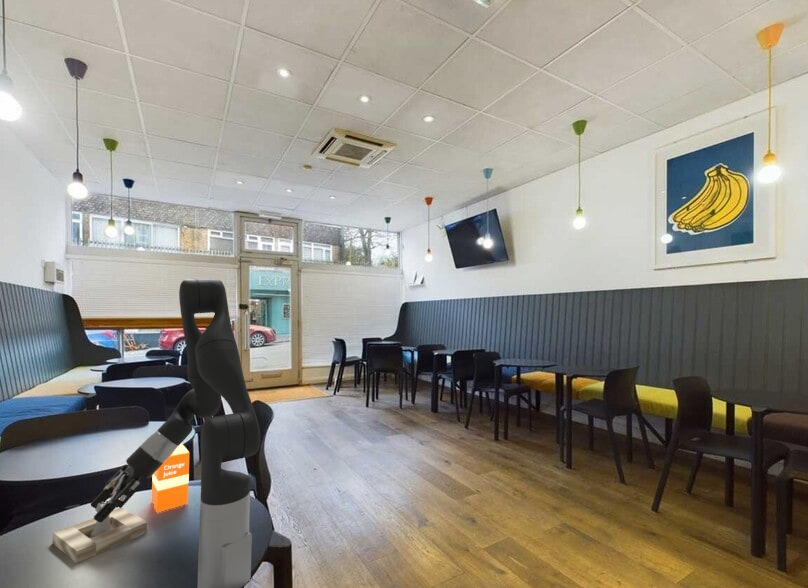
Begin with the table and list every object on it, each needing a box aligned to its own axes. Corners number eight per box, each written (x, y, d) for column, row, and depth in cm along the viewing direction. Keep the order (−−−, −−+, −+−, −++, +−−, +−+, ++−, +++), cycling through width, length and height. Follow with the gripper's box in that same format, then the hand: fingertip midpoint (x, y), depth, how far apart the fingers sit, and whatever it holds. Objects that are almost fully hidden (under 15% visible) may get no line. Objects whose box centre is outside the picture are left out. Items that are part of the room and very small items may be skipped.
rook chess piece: (100, 543, 90) (102, 508, 90) (85, 541, 91) (87, 506, 91) (118, 533, 94) (119, 500, 95) (103, 531, 95) (105, 498, 96)
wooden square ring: (146, 532, 95) (147, 522, 95) (76, 563, 83) (76, 551, 83) (120, 517, 102) (121, 507, 102) (52, 543, 90) (53, 532, 90)
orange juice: (156, 513, 104) (159, 439, 105) (150, 502, 110) (153, 431, 112) (188, 504, 109) (191, 433, 110) (181, 493, 116) (183, 426, 117)
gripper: (136, 439, 104) (79, 495, 95) (147, 452, 94) (83, 517, 85) (158, 454, 107) (104, 510, 99) (170, 468, 97) (112, 532, 88)
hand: (95, 513), depth 92 cm, fingers open, 8 cm apart
